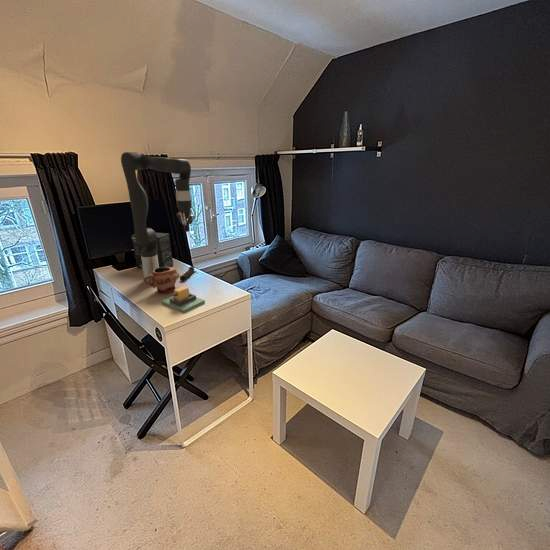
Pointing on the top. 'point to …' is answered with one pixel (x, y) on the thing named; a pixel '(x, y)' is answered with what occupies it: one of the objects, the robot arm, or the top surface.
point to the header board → (184, 303)
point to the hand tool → (187, 274)
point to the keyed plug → (181, 293)
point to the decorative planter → (163, 279)
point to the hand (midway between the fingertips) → (186, 231)
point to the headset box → (162, 252)
